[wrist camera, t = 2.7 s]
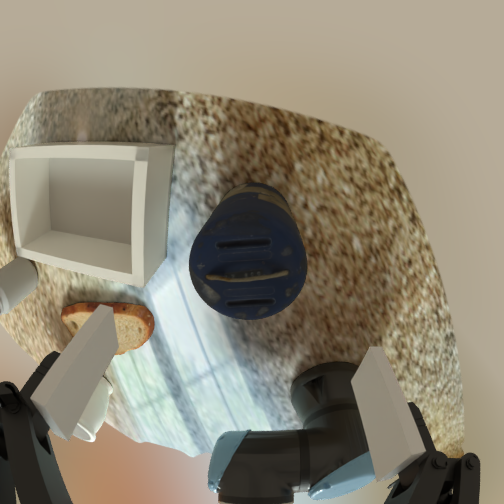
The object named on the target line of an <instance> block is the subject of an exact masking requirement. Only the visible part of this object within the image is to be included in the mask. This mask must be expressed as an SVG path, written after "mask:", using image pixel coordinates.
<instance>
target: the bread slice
mask: <svg viewBox="0 0 504 504" xmlns="http://www.w3.org/2000/svg"><path fill="white" fill-rule="evenodd" d="M100 304H102V305H105V306H109V307H113V313H114V320H115V326H116V333H117V339H118V344H119V348H118V350H117V352H116V353H115V355H121V354H124V353H125V352H126V351H129V350H132V349H137V348H139V347H140V346H142V345H143V344H144V343H145V342H146V341H147V340H148V339H149V338H150V337H151V335H152V333H153V330H154V325H155V324H154V317H153V315H152V313H151V312H150V311H149V310H148V309H147V308H146V307H144V306H141V305H135V304H128V303H118V302H114V303H108V302H107V303H102V302H87V303H76V304H74V305H71V306H67V307H65V308H63V310H62V313H61V319H62V321H63V323H64V324H65V325H66V327H67V328H68V330H69V332H70V333H71V335H72V336H73V337H74V336H75V335H76V333H77V332H78V331H79V330H80V328H81V327H82V326H83V325H84V323H85V322H86V321H87V320H88V318H89V317H90V316H91V315H92V313H93V312H94V311H95V310H96V309H97V307H98V306H99V305H100Z"/></svg>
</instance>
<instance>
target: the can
mask: <svg viewBox="0 0 504 504" xmlns="http://www.w3.org/2000/svg"><path fill="white" fill-rule="evenodd" d="M37 284H38V277H37V272H36V269H35V267H34V265H33V264H32V263H31V261H29V260H28V259H26V258H24V257H20V256H19V257H17V258H16V259H14V260H13V261H11V262H10V263H8V264H7V265H5V266H4V267H2V268H1V269H0V315H2V313H3V314H8V313H9V312H10V311H11V310H12V309H13V308H14V307H15V306H16V305H18V304H19V303H20V302H21V301H22V300H23V299H24V298H25V297H27V296H28V295H29V294H30V293H31V292H32V291H33V290H35V289H36V287H37Z"/></svg>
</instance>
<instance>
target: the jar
mask: <svg viewBox="0 0 504 504" xmlns="http://www.w3.org/2000/svg"><path fill="white" fill-rule="evenodd" d="M112 392H113V389H112V386H111V384H110V383H109V382H108V381H107V380H106V379H105V378H104V377H102V378H101V380H100V381H99V383H98V385H97V387H96V389H95V391H94V393H93V394H92V396H91V398H90V400H89V402H88V404H87V406H86V408H85V410H84V412H83V413H82V415H81V417H80V419H79V421H78V423H77V425H76V427H75V429H74V431H73V433H72V435H74V436H76V437H78V438H80V439H82V440H85V441H88V442H94V441H95V438H96V435H95V433H96V432H97V431H98V430H99V429H100V427H101V425H102V424H103V421H104V419H105V416H106V412H107V408H108V404H109V395H110V394H111V393H112Z"/></svg>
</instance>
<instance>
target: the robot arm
mask: <svg viewBox="0 0 504 504" xmlns="http://www.w3.org/2000/svg"><path fill="white" fill-rule="evenodd" d="M118 348H119V344H118V339H117V333H116V326H115V320H114V313H113V307H109V306H105V305H102V304H100V305H99V306H98V307H97V309H96V310H95V311H94V312H93V313H92V315H91V316H90V317H89V318H88V320H87V321H86V322H85V323H84V325H83V326H82V327H81V328H80V330H79V331H78V332H77V333H76V335H75V336H74V337H73V339H72V340H71V341H70V342H69V344H68V345H67V346H66V348H65V349H64V350H63V352H62V353H61V354H60V353H58V352H56V351H53V352H52V353H50V354H49V355H47V356H46V357H45V358H44V359H43V361H42V362H41V363H40V366H38V367H37V369H36V371H35V372H34V373H33V374H32V375H31V377H30V378H29V380H28V381H27V382H26V384H25V385H24V387H23V388H22V390H21V391H20V392H19V390H18V388H17V387H16V386H15V385H14V384H13V383H11V382H8V381H4V382H1V383H0V504H16V494H15V487H16V491H17V494H18V497H19V500H20V503H21V504H73V503H72V501H71V498H70V496H69V494H68V491H67V489H66V486H65V484H64V481H63V478H62V476H61V473H60V471H59V467H58V464H57V461H56V458H55V455H54V451H53V448H52V445H51V441H50V437H49V435H48V431H49V429H51V430H52V431H53V433H54V434H55V435H57V436H59V437H61V438H63V439H65V440H67V441H69V440H70V438H71V435H72V433H73V431H74V429H75V427H76V425H77V423H78V421H79V419H80V417H81V415H82V413H83V412H84V410H85V408H86V406H87V404H88V402H89V400H90V398H91V396H92V394H93V393H94V391H95V389H96V387H97V385H98V383H99V381H100V380H101V378H102V376H103V374H104V373H105V371H106V369H107V367H108V365H109V364H110V362H111V360H112V358H113V357H114V355H115V353H116V352H117V350H118ZM291 402H292V405H293V407H294V409H295V411H296V412H297V414H298V416H299V418H300V420H301V422H302V423H303V429H299V430H280V431H251V430H247V431H228V432H225V433H223V434H222V435H221V436H220V437H219V439H218V440H217V442H216V444H215V447H214V450H213V453H212V457H211V460H210V465H209V471H208V487H209V489H210V491H213V492H214V493H219V496H218V502H219V503H220V504H293V503H294V493H296V492H308V495H309V496H310V498H311V499H313V500H320V499H321V500H325V499H331V498H335V497H339V496H342V495H345V494H348V493H351V492H353V491H355V490H357V489H360V488H362V487H363V486H365V485H367V484H369V483H370V482H371V481H373V480H374V479H375V478H376V480H377V482H378V481H384V480H388V479H392V478H393V477H394V476H396V475H397V474H398V475H399V479H397V480H396V481H395V482H393V483H392V484H390V485H389V486H388V489H389V488H391V487H392V486H393V489H392V490H391V492H390V494H389V496H388V497H387V499H386V501H385V502H384V504H479V492H480V460H479V459H478V457H477V456H476V455H475V454H474V453H467V454H465V455H464V456H462V457H461V458H448V457H447V456H446V455H445V454H444V453H442V452H439V451H436V449H435V446H434V444H433V441H432V439H431V436H430V434H429V431H428V429H427V426H425V425H426V424H425V421H424V419H423V417H422V414H421V412H420V410H419V408H418V407H417V406H416V405H415V404H414V403H413V402H409V403H407V401H406V399H405V397H404V394H403V392H402V390H401V387H400V385H399V383H398V380H397V378H396V376H395V374H394V372H393V369H392V367H391V365H390V363H389V361H388V359H387V356H386V354H385V352H384V350H383V348H382V347H372V346H370V347H369V349H368V351H367V353H366V355H365V357H364V359H363V360H362V362H361V364H360V366H359V367H358V366H356V365H354V364H351V363H346V362H332V363H326V364H322V365H319V366H316V367H314V368H311V369H309V370H307V371H306V372H304V373H303V374H301V375H300V376H299V377H298V378H297V379H296V380H295V381H294V383H293V384H292V387H291ZM452 489H453V494H452Z"/></svg>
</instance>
